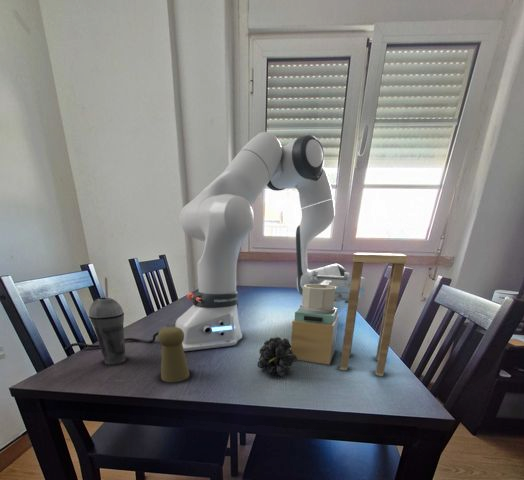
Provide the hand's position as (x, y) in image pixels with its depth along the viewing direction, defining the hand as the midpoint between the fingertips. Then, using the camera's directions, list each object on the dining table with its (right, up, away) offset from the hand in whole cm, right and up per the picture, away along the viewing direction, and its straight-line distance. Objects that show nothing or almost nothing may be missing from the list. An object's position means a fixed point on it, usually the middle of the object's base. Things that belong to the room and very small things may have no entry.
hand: (330, 274), depth 83 cm
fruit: (-17, -27, -16) cm, 35 cm away
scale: (-7, -24, -8) cm, 26 cm away
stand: (+5, -26, -13) cm, 30 cm away
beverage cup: (-57, -25, -14) cm, 63 cm away
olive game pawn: (-39, -28, -21) cm, 53 cm away
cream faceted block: (-4, -10, -8) cm, 13 cm away
